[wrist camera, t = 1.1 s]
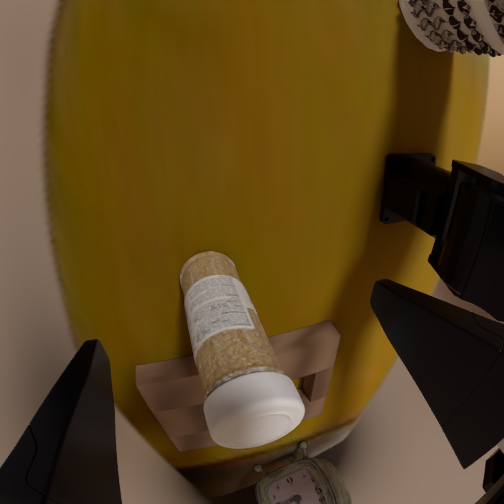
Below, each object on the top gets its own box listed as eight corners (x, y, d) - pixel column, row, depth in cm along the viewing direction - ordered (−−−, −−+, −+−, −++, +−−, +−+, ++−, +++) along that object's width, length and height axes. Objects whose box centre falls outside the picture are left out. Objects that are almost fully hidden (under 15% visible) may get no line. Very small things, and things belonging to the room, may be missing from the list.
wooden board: (329, 319, 30) (340, 335, 28) (314, 401, 38) (321, 414, 36) (135, 365, 25) (136, 386, 23) (176, 436, 34) (179, 451, 32)
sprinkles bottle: (235, 294, 24) (298, 438, 13) (180, 301, 23) (214, 458, 12) (236, 245, 22) (317, 392, 11) (175, 251, 21) (208, 418, 10)
